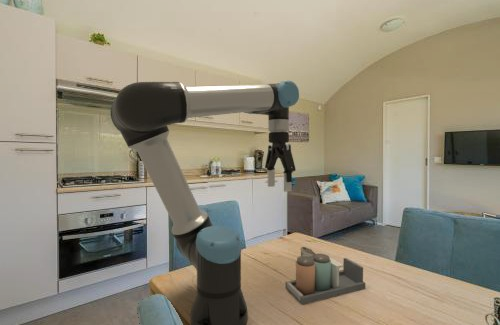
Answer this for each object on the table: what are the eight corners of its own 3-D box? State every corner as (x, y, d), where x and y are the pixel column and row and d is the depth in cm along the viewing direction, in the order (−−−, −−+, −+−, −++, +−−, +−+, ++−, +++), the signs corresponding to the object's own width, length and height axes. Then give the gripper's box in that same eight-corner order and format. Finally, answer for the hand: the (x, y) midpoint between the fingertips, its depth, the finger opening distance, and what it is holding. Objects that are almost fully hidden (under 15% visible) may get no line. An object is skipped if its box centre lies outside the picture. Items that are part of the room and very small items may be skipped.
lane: (302, 304, 74) (302, 282, 73) (285, 287, 83) (285, 267, 83) (365, 288, 82) (365, 268, 82) (343, 274, 92) (343, 256, 91)
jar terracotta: (318, 294, 78) (319, 262, 78) (301, 297, 76) (301, 265, 76) (308, 284, 84) (308, 254, 83) (292, 287, 82) (292, 257, 81)
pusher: (336, 290, 80) (336, 266, 79) (322, 279, 87) (322, 257, 86) (342, 288, 81) (343, 265, 80) (327, 277, 87) (327, 256, 87)
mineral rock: (322, 272, 93) (322, 261, 93) (300, 270, 95) (300, 259, 95) (319, 256, 108) (319, 246, 108) (300, 255, 109) (300, 245, 109)
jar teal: (318, 293, 78) (319, 261, 78) (307, 284, 84) (307, 254, 83) (334, 289, 80) (334, 258, 80) (322, 280, 86) (323, 252, 86)
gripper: (305, 129, 84) (305, 193, 84) (273, 134, 107) (273, 184, 108) (285, 128, 81) (285, 194, 82) (256, 134, 104) (257, 185, 105)
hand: (278, 188), depth 95 cm, fingers open, 13 cm apart
